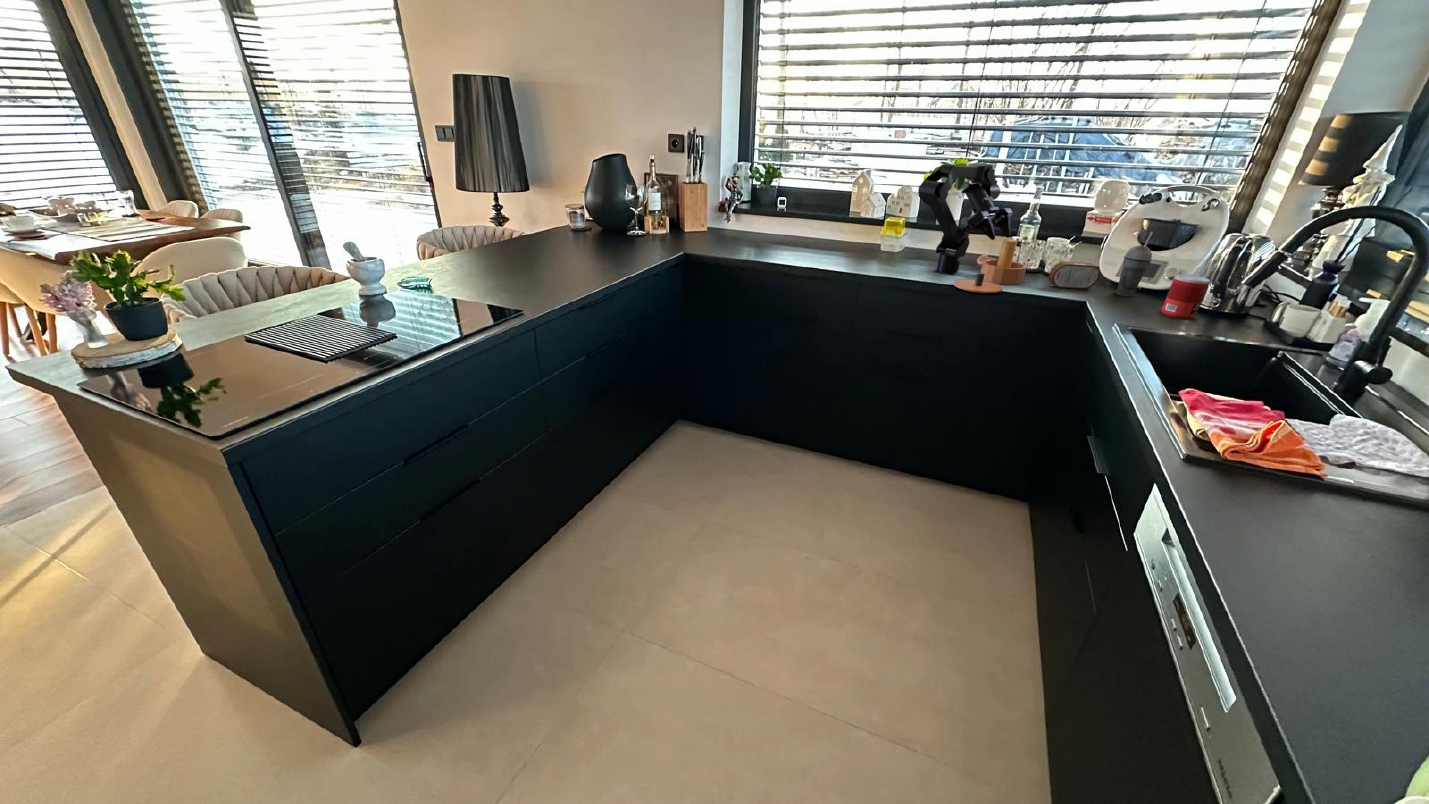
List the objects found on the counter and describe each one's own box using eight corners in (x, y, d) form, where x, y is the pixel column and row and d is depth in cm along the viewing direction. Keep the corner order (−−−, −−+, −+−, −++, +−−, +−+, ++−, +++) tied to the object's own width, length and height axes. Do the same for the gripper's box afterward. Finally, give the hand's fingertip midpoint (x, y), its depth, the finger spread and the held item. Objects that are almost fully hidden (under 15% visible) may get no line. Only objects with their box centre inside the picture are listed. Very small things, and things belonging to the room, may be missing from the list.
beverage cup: (1114, 290, 185) (1136, 228, 176) (1140, 294, 180) (1164, 231, 171) (1108, 294, 180) (1131, 230, 171) (1135, 299, 176) (1159, 234, 167)
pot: (974, 280, 193) (978, 264, 190) (984, 272, 202) (988, 257, 200) (1017, 287, 185) (1021, 270, 183) (1025, 279, 195) (1030, 263, 192)
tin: (1091, 287, 187) (1100, 262, 183) (1096, 290, 184) (1105, 264, 180) (1045, 285, 188) (1052, 260, 184) (1049, 288, 185) (1057, 262, 181)
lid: (947, 289, 181) (951, 273, 179) (960, 280, 192) (964, 265, 189) (995, 297, 174) (999, 281, 171) (1006, 288, 184) (1010, 272, 182)
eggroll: (992, 278, 193) (1001, 240, 187) (995, 276, 196) (1004, 238, 190) (1005, 280, 191) (1015, 242, 185) (1008, 278, 194) (1018, 240, 188)
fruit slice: (1000, 272, 204) (1003, 258, 202) (982, 271, 203) (986, 258, 201) (988, 266, 211) (992, 253, 209) (971, 266, 211) (974, 253, 208)
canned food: (1195, 321, 157) (1212, 283, 152) (1161, 316, 160) (1176, 278, 155) (1192, 314, 162) (1208, 277, 157) (1159, 309, 166) (1173, 273, 161)
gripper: (976, 213, 205) (997, 249, 202) (945, 216, 195) (966, 254, 192) (1002, 193, 195) (1024, 230, 192) (971, 195, 186) (993, 235, 183)
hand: (1001, 238), depth 190 cm, fingers open, 9 cm apart
